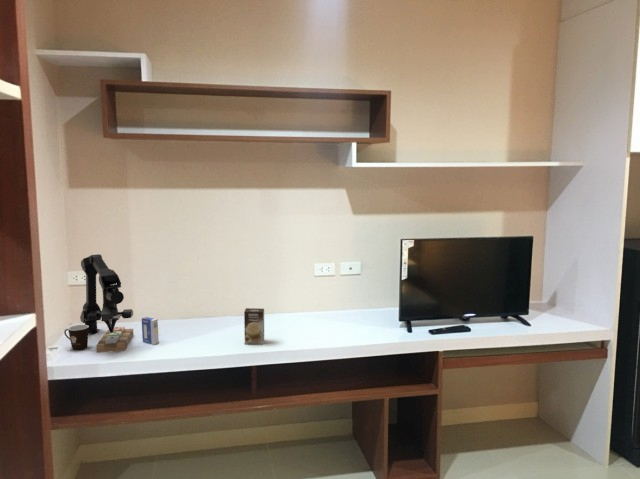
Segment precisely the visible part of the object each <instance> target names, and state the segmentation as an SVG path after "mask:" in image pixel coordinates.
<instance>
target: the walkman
mask: <svg viewBox="0 0 640 479" xmlns="http://www.w3.org/2000/svg"><path fill="white" fill-rule="evenodd" d="M141 330H142V331H141V332H142V335H141V336H142V342H143V343H145V344H149V345H150V344H151V345H156V344H159V342H160V340H159V339H160V338H159V322H158V318H154V317H153V318H152V317H148V316H146V317H142V318H141Z"/></svg>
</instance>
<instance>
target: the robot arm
mask: <svg viewBox="0 0 640 479" xmlns="http://www.w3.org/2000/svg"><path fill="white" fill-rule="evenodd" d="M80 267H81V269H82V271H83V272H84V274H85V293H86V294H85V298H86V299H85V303H84V304H83V305H82V311H81V313H80V317H79V319H80V322H81V323H82V324H84V325H88V326H89V330H88V335H97V334H98V333H99V331H100V329H99V328H98V321H101V322H104V323H105V325H106V326H107V328H108V330H109V331H110V333H113V330H114V327H116V323H117V321H119V320H120V318H123V319H130V318H132V317H133V316H134V311H133V309H130V308H128V309H123V311H119V309H118V305H119V304H121V303H122V302H123V301H124V299H125V296H124V294H123V292H121V291H120V288H122V282H121V278H120V277H119V275H118V274H117V273H116V272H115V270H114V269H111V268H109V267H108V265H107V264H106V262H105V260H104V259H103V256H102V254H91V255H89V256H87V257H83V259H82V260H80ZM97 275H98V284H99V285H100V287H101V289H102V308H101V307H100V306H99V304H98V303H97Z"/></svg>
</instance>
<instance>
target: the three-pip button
mask: <svg viewBox="0 0 640 479" xmlns="http://www.w3.org/2000/svg"><path fill="white" fill-rule="evenodd" d="M109 336H119V338H121V336H122V331H117V332H113V333H110V334H109Z"/></svg>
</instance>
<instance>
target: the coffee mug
mask: <svg viewBox="0 0 640 479" xmlns="http://www.w3.org/2000/svg"><path fill="white" fill-rule="evenodd" d="M88 330H89V326H88V325H85V324H76V325H72V326H69V327H68V328H66V329H64V335H65V337H66V338H67V339H68V340H69V341H70V345H71V349H72V351H74V352H77V351H78V352H80V351H85V350H87V349H88V347H89V346H88V344H89V341H88V340H89V334H88ZM67 331H68V335H69V336H68V335H67Z"/></svg>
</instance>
